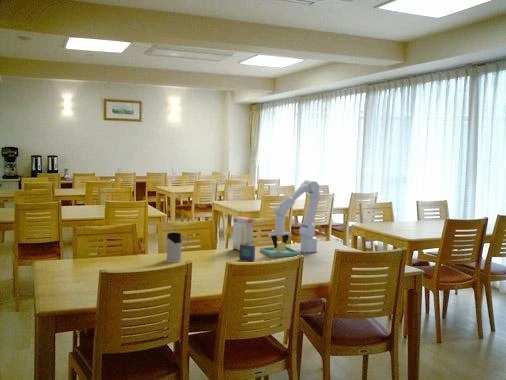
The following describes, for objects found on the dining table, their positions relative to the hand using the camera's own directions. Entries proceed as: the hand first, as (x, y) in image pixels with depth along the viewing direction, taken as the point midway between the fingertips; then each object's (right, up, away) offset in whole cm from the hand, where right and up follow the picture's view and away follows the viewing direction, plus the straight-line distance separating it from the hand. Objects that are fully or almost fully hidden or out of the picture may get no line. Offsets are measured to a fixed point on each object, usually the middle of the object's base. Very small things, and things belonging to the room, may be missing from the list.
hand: (279, 247), depth 279 cm
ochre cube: (0, -2, 0) cm, 2 cm away
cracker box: (-22, -3, +6) cm, 23 cm away
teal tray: (0, -4, 0) cm, 3 cm away
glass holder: (-58, -4, -21) cm, 62 cm away
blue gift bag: (-19, -5, -19) cm, 28 cm away
